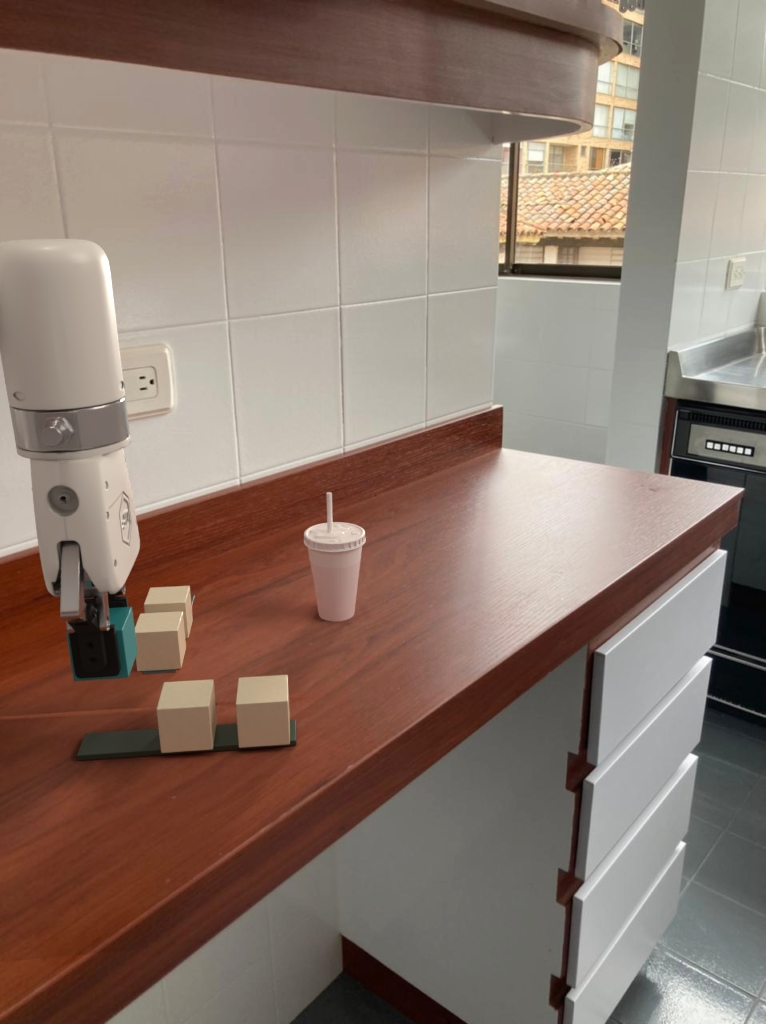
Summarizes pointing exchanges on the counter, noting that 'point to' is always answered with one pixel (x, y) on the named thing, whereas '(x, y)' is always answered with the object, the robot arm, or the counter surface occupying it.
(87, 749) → the dark strip with cubes
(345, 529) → the smoothie
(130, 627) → the teal rectangular block
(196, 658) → the counter surface
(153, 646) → the beige double cube
